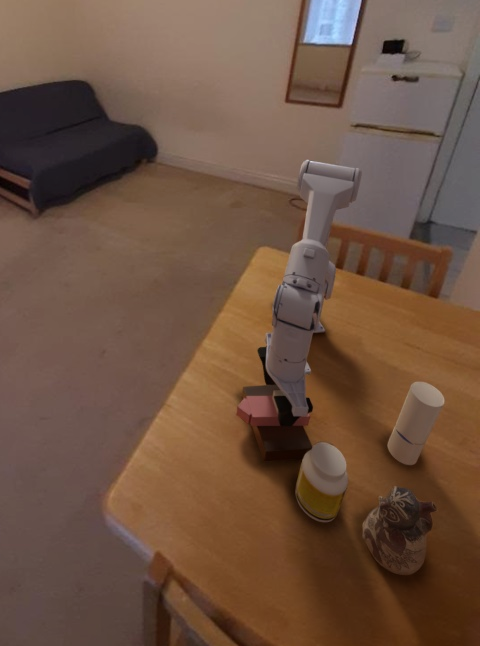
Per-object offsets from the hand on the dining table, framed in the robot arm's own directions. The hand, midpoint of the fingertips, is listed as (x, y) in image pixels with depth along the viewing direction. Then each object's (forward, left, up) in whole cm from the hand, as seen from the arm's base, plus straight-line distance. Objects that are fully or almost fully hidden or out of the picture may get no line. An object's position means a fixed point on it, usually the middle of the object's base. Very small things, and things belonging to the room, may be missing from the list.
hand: (278, 402), depth 71 cm
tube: (+6, +20, -7) cm, 22 cm away
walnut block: (0, 0, -6) cm, 6 cm away
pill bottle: (+12, +2, -7) cm, 14 cm away
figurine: (+18, +10, -7) cm, 22 cm away
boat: (0, -1, -3) cm, 4 cm away
